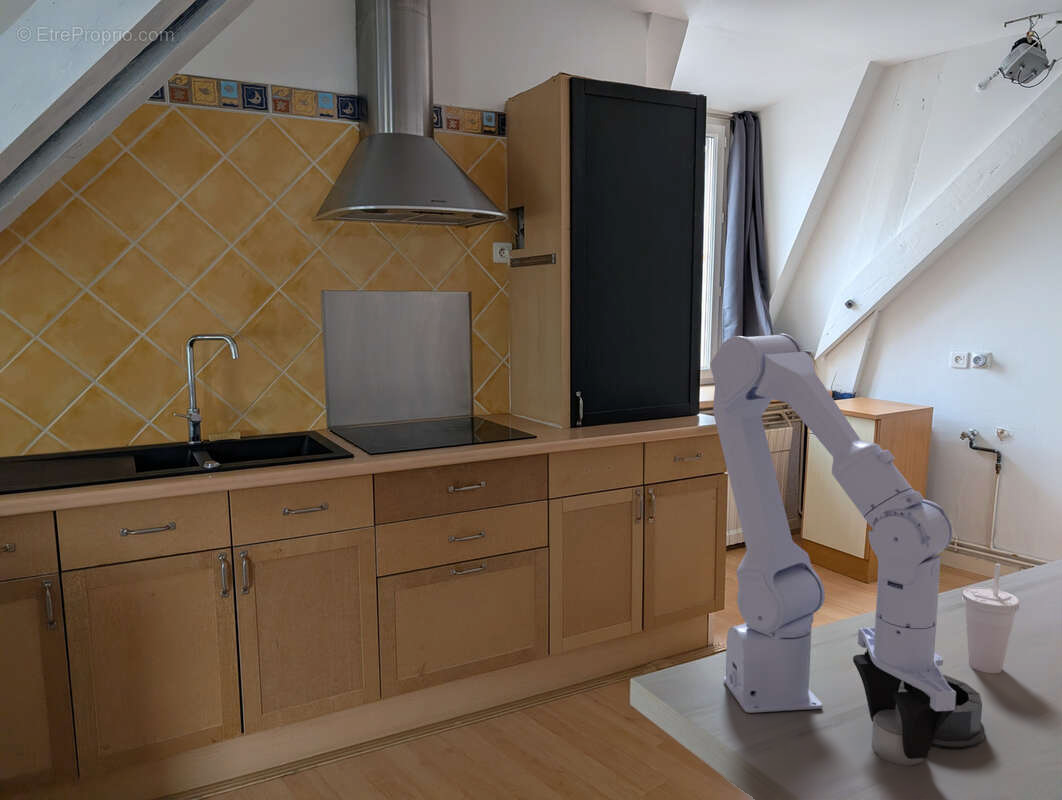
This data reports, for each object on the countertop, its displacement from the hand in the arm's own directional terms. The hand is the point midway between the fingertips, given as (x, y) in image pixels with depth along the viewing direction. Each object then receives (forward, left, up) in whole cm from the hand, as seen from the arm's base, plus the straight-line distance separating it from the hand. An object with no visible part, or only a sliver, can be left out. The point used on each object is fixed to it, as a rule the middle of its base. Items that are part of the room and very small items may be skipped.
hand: (898, 738), depth 81 cm
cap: (0, 0, -2) cm, 2 cm away
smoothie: (+22, +17, -2) cm, 28 cm away
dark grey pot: (+7, +5, -1) cm, 8 cm away
